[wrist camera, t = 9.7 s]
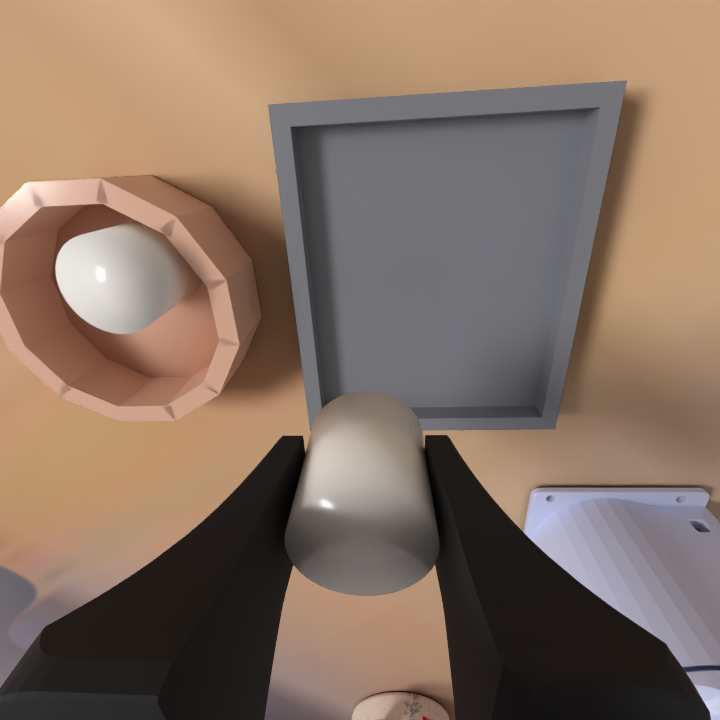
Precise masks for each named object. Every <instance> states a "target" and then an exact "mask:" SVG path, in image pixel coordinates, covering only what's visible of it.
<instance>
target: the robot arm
mask: <svg viewBox="0 0 720 720" xmlns="http://www.w3.org/2000/svg"><path fill="white" fill-rule="evenodd" d="M425 452H426V459H427V466H428V472H429V478H430V484H431V490H432V496H433V503H434V509H435V516H436V522H437V529H438V535H439V545H440V549H439V555H438V558H437V560H436V563H435V566H436V571H437V576H438V581H439V586H440V591H441V596H442V602H443V608H444V614H445V623H446V631H447V640H448V649H449V658H450V668H451V677H452V686H453V696H454V706H455V716H456V720H720V522H719V521H718V520H717V519H716V518H715V516H714V515H713V514H712V513H711V512H710V511H709V510H708V509H707V508H706V505H707V502H708V500H709V497H710V496H709V494H708V493H707V492H706V491H705V490H704V489H703V488H536V489H534V490H533V491H532V492H531V494H530V499H529V505H528V510H527V515H526V520H525V526H524V531H522V530H521V529H520V528H519V527H518V526H517V525H516V524H515V523H514V522H513V521H512V520H511V519H510V518H509V517H508V516H507V515H506V514H505V512H504V511H503V510H502V509H501V508H500V507H499V505H498V504H497V503H496V502H495V501H494V500H493V499H492V497H491V496H490V495H489V494H488V492H487V491H486V490H485V489H484V487H483V486H482V485H481V483H480V482H479V481H478V480H477V478H476V477H475V476H474V474H473V473H472V472H471V470H470V469H469V467H468V466H467V465H466V463H465V462H464V460H463V459H462V457H461V456H460V454H459V453H458V451H457V450H456V448H455V446H454V445H453V443H452V441H451V440H450V438H449V437H448V436H447V435H425ZM304 457H305V448H304V440H303V436H282V437H281V438H280V439H279V440H278V442H277V443H276V444H275V445H274V446H273V448H272V449H271V450H270V451H269V452H268V454H267V455H266V456H265V457H264V458H263V460H262V461H261V462H260V463H259V464H258V465H257V467H256V468H255V469H254V470H253V471H252V472H251V473H250V474H249V476H248V477H247V478H246V479H245V480H244V481H243V482H242V483H241V484H240V485H239V487H238V488H237V489H236V490H235V491H234V492H233V493H232V494H231V495H230V496H229V497H228V498H227V499H226V500H225V501H224V502H223V503H222V504H221V505H220V506H219V507H218V508H217V509H216V510H215V511H213V512H212V513H211V514H210V515H209V516H208V517H207V518H206V519H205V520H204V521H203V522H201V523H200V524H199V525H198V526H197V527H196V528H194V529H193V530H192V531H191V532H190V533H189V534H187V535H186V536H185V537H184V538H182V539H181V540H180V541H178V542H177V543H176V544H174V545H173V546H172V547H170V548H169V549H168V550H167V551H165V552H164V553H163V554H161V555H160V556H159V557H157V558H156V559H155V560H153V561H152V562H150V563H149V564H148V565H146V566H145V567H143V568H142V569H140V570H139V571H137V572H136V573H134V574H133V575H131V576H130V577H128V578H127V579H125V580H124V581H122V582H121V583H119V584H118V585H116V586H114V587H113V588H111V589H110V590H108V591H107V592H105V593H103V594H102V595H100V596H98V597H97V598H95V599H93V600H92V601H90V602H88V603H86V604H85V605H83V606H81V607H79V608H78V609H76V610H74V611H72V612H71V613H69V614H67V615H65V616H64V617H62V618H60V619H58V620H57V621H55V622H53V623H51V624H49V625H48V626H46V627H45V628H44V629H43V630H42V631H41V633H40V634H39V635H38V637H37V638H36V639H35V641H34V642H33V643H32V645H31V646H30V647H29V649H28V650H27V651H26V653H25V654H24V656H23V657H22V658H21V660H20V661H19V663H18V664H17V665H16V667H15V668H14V670H13V671H12V672H11V674H10V675H9V677H8V678H7V680H6V681H5V682H4V684H3V685H2V686H1V688H0V720H264V717H265V711H266V704H267V697H268V690H269V684H270V677H271V671H272V665H273V658H274V652H275V646H276V640H277V634H278V628H279V623H280V617H281V611H282V606H283V602H284V598H285V593H286V589H287V586H288V582H289V578H290V574H291V571H292V567H293V563H292V562H291V560H290V558H289V556H288V554H287V551H286V548H285V540H284V539H285V531H286V527H287V524H288V520H289V516H290V512H291V508H292V504H293V500H294V496H295V492H296V489H297V485H298V481H299V477H300V473H301V469H302V465H303V461H304ZM550 495H552V496H550ZM548 496H550V497H548Z"/></svg>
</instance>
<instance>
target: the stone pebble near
mask: <svg viewBox="0 0 720 720" xmlns="http://www.w3.org/2000/svg"><path fill="white" fill-rule="evenodd" d="M284 540H285V548H286V551H287V554H288V556H289V558H290V560H291V562H292V563H293V565H294V566H295V567H296V568H297V569H298V570H299V572H301V573H302V574H303V575H304V576H305V577H307V578H308V579H310V580H311V581H313V582H314V583H316V584H318V585H320V586H322V587H325V588H327V589H330V590H333V591H336V592H340V593H344V594H350V595H361V596H374V595H383V594H388V593H393V592H396V591H400V590H402V589H405V588H407V587H409V586H411V585H413V584H415V583H417V582H418V581H419V580H421V579H422V578H423V577H425V576H426V575H427V574H428V573H429V571H430V570H431V569H432V568H433V566H434V564H435V563H436V560H437V558H438V555H439V549H440V545H439V535H438V529H437V522H436V516H435V509H434V503H433V496H432V490H431V484H430V478H429V472H428V466H427V459H426V452H425V443H424V437H423V431H422V427H421V424H420V421H419V420H418V418H417V416H416V415H415V414H414V412H413V411H412V410H411V409H410V408H409V407H408V406H407V405H405V404H404V403H403V402H401V401H400V400H398V399H396V398H394V397H392V396H389V395H386V394H382V393H378V392H368V391H363V392H354V393H349V394H346V395H342V396H340V397H338V398H336V399H334V400H332V401H331V402H329V403H328V404H327V405H326V406H324V407H323V409H322V410H321V411H320V412H319V413H318V415H317V416H316V418H315V421H314V423H313V427H312V430H311V434H310V438H309V442H308V446H307V450H306V454H305V457H304V461H303V465H302V469H301V473H300V477H299V481H298V485H297V489H296V492H295V496H294V500H293V504H292V508H291V512H290V516H289V520H288V524H287V527H286V531H285V539H284Z"/></svg>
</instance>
